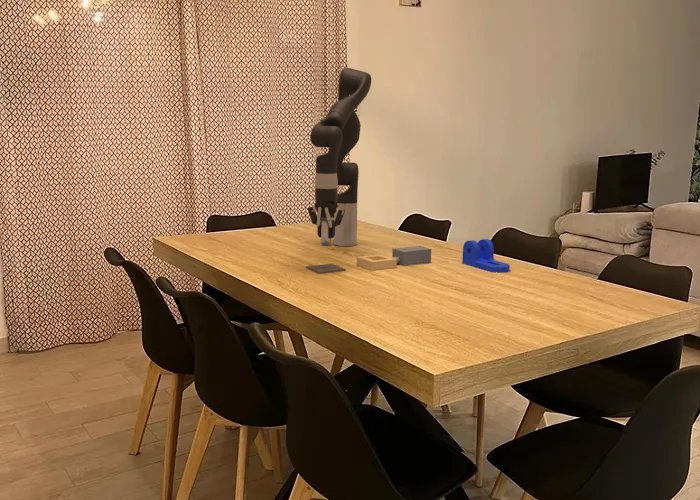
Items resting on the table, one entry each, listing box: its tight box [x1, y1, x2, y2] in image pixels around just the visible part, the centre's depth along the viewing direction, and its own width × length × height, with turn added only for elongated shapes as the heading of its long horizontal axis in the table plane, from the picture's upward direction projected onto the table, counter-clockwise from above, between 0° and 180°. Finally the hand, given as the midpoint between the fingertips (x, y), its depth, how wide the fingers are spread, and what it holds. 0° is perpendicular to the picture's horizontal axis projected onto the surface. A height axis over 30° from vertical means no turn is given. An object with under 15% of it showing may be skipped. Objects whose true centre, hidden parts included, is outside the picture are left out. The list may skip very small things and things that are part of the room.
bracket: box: [461, 238, 511, 274], centre depth 245 cm, size 18×8×9 cm, turn 29°
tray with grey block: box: [356, 245, 432, 271], centre depth 248 cm, size 26×10×5 cm, turn 121°
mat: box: [305, 263, 347, 275], centre depth 239 cm, size 10×10×1 cm
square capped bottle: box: [320, 217, 332, 247], centre depth 237 cm, size 3×3×10 cm
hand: (326, 237), depth 237 cm, fingers closed on square capped bottle, 3 cm apart
